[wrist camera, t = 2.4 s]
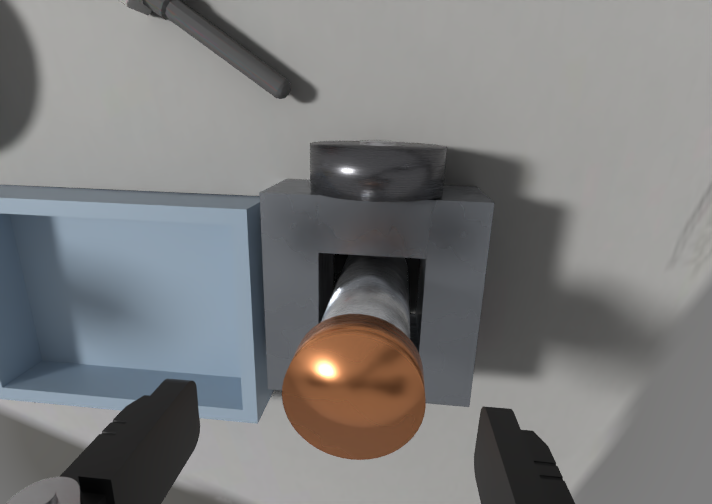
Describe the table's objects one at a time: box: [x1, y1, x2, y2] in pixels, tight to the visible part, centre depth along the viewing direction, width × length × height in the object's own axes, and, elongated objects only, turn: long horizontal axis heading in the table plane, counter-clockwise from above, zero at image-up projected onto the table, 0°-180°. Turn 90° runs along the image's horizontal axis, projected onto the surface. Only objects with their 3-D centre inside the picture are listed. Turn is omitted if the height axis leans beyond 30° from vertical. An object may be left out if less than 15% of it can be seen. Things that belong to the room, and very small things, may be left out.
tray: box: [0, 185, 274, 423], centre depth 24 cm, size 16×12×4 cm
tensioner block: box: [260, 140, 494, 407], centre depth 21 cm, size 10×12×6 cm
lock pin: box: [282, 254, 426, 460], centre depth 18 cm, size 4×4×12 cm
